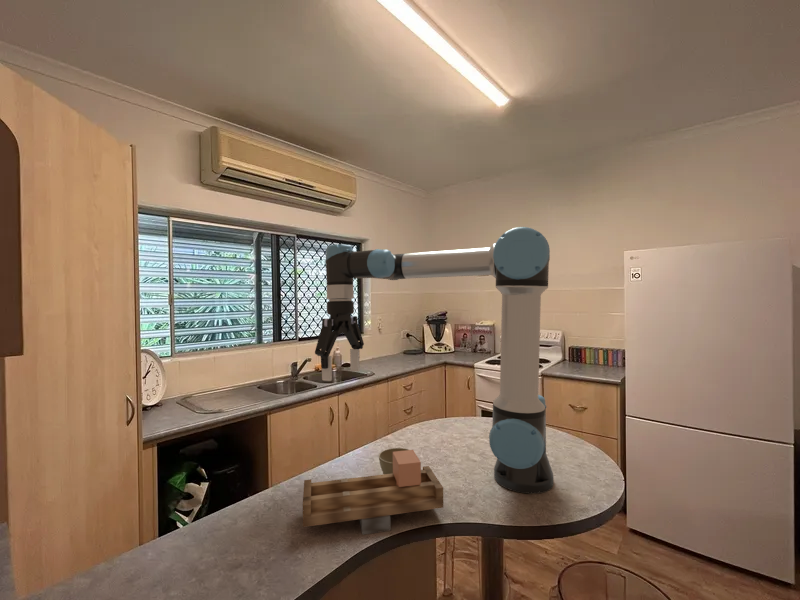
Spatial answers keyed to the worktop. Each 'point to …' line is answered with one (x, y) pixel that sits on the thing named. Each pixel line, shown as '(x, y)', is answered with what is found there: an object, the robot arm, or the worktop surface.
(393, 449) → the flower pot
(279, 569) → the worktop surface
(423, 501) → the wooden crate
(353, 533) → the worktop surface
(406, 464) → the block
